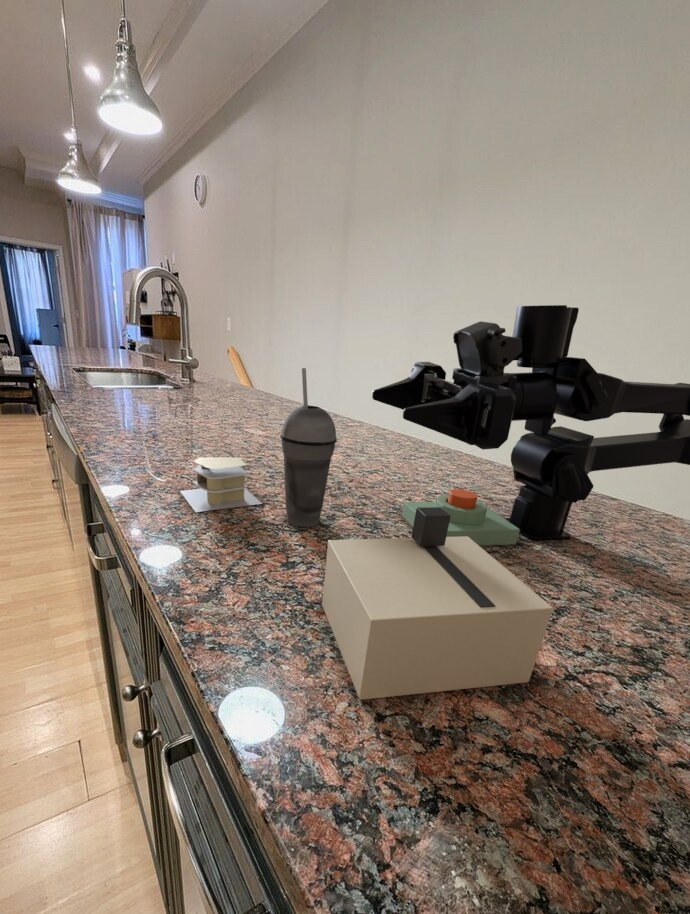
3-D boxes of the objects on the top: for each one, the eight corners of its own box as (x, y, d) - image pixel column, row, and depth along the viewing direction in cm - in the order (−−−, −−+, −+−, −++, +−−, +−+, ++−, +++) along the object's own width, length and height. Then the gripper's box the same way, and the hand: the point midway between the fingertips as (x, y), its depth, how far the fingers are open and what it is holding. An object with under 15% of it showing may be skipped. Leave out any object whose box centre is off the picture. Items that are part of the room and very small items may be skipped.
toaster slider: (434, 536, 42) (440, 506, 41) (444, 546, 40) (451, 515, 39) (410, 536, 41) (416, 507, 40) (420, 546, 40) (425, 515, 38)
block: (475, 514, 68) (481, 489, 66) (516, 544, 59) (523, 516, 57) (401, 515, 65) (405, 490, 64) (432, 547, 56) (438, 518, 55)
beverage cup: (324, 535, 58) (339, 373, 50) (270, 527, 59) (276, 368, 51) (332, 514, 64) (346, 369, 56) (283, 507, 65) (291, 364, 58)
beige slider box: (451, 594, 46) (465, 532, 44) (529, 682, 35) (554, 606, 32) (320, 601, 43) (326, 536, 41) (359, 700, 32) (371, 618, 29)
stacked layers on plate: (241, 484, 73) (241, 452, 71) (262, 504, 66) (263, 468, 64) (179, 491, 69) (178, 456, 66) (195, 512, 61) (194, 474, 59)
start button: (466, 500, 63) (468, 488, 62) (480, 510, 60) (483, 498, 59) (442, 500, 62) (445, 489, 61) (455, 510, 59) (458, 498, 58)
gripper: (476, 320, 59) (364, 321, 56) (584, 334, 43) (435, 337, 39) (462, 404, 64) (358, 410, 61) (554, 445, 48) (419, 456, 45)
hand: (387, 403), depth 51 cm, fingers open, 9 cm apart
